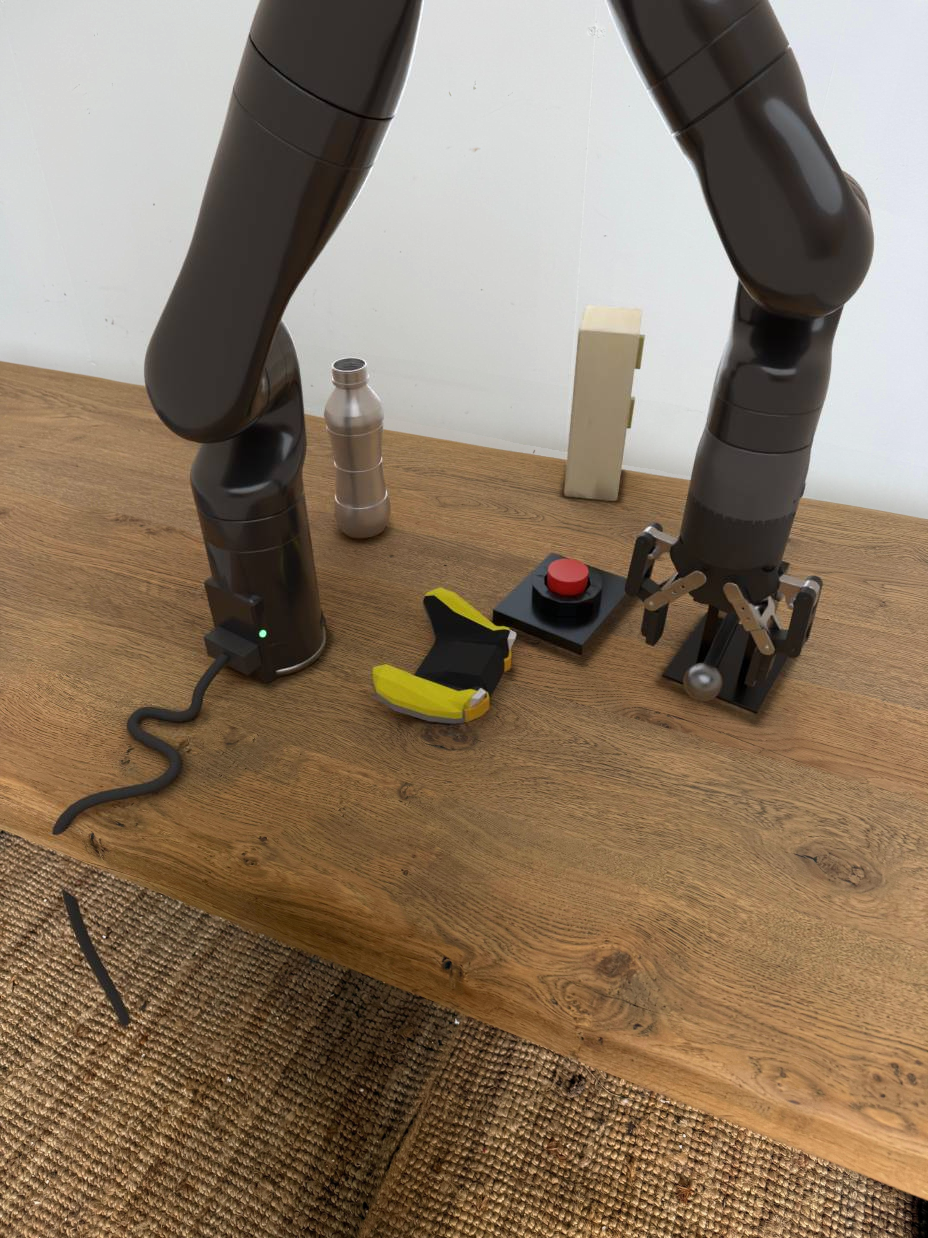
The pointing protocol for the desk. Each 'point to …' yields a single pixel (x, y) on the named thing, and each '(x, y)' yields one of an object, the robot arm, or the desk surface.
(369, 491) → the silver metal bottle
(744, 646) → the switch bracket
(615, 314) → the toy refrigerator
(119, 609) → the desk surface
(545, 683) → the desk surface
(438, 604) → the gaming controller
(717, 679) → the switch lever
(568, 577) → the button
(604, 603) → the control box
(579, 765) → the desk surface
